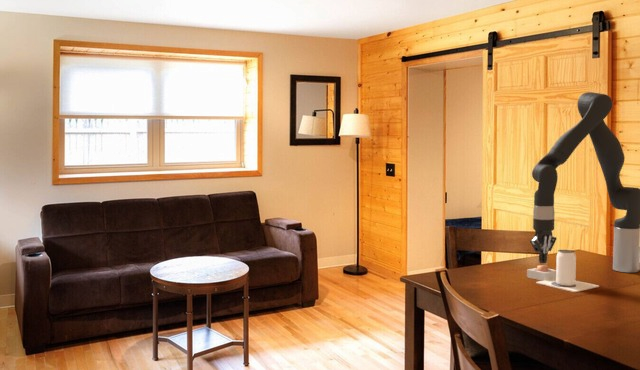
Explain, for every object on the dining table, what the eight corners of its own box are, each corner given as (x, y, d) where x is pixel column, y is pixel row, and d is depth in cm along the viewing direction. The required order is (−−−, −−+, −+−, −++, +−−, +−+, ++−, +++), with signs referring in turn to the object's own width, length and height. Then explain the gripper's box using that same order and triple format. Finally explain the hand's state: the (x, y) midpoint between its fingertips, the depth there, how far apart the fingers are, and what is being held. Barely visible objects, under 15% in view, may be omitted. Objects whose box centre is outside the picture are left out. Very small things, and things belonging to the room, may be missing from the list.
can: (577, 286, 217) (578, 253, 216) (557, 286, 218) (558, 252, 217) (573, 282, 223) (573, 249, 222) (554, 281, 224) (555, 249, 223)
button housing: (540, 274, 238) (540, 266, 238) (558, 278, 231) (558, 270, 231) (526, 277, 234) (527, 269, 233) (544, 281, 227) (544, 273, 227)
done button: (541, 275, 235) (541, 264, 235) (550, 277, 232) (550, 266, 231) (534, 276, 233) (535, 265, 233) (543, 278, 230) (543, 267, 229)
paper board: (560, 278, 232) (560, 277, 232) (599, 286, 218) (599, 285, 218) (535, 283, 224) (535, 281, 224) (574, 292, 211) (574, 290, 211)
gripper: (540, 220, 224) (539, 266, 226) (563, 217, 232) (562, 262, 233) (523, 217, 231) (523, 263, 232) (546, 214, 238) (545, 259, 239)
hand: (543, 262), depth 233 cm, fingers closed
